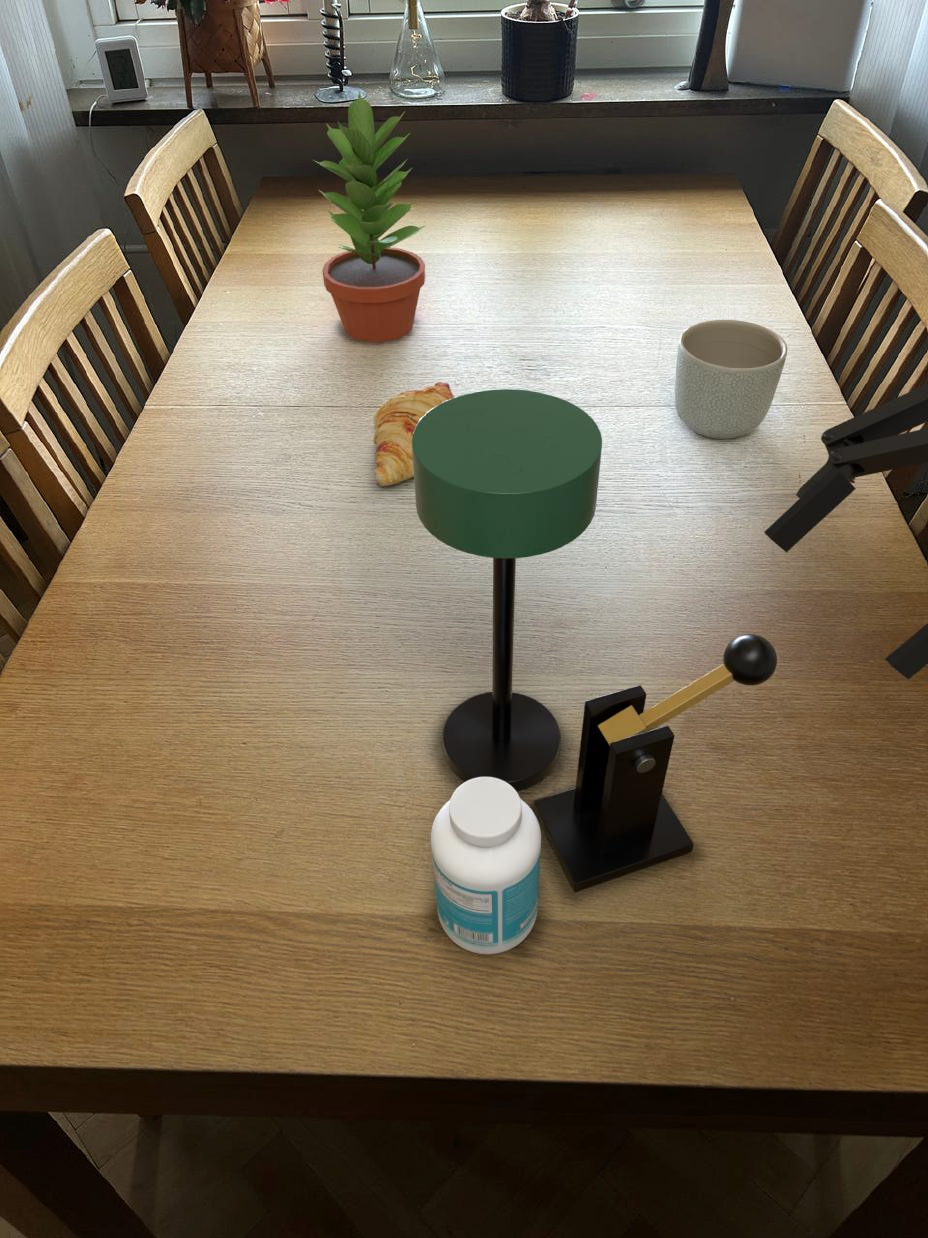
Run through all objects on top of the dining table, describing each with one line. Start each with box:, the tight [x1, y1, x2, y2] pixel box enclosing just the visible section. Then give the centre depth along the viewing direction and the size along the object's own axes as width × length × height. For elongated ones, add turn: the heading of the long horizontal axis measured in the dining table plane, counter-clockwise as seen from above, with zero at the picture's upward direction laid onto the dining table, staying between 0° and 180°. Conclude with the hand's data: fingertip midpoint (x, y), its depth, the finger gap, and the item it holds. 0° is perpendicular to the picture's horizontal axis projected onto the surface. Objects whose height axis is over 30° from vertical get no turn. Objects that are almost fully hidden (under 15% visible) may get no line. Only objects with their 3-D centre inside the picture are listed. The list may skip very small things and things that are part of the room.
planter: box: [674, 319, 788, 440], centre depth 113 cm, size 12×12×11 cm
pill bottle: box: [430, 777, 542, 955], centre depth 64 cm, size 8×7×14 cm
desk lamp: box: [412, 388, 603, 793], centre depth 69 cm, size 12×12×31 cm
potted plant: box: [312, 91, 427, 343], centre depth 126 cm, size 15×15×30 cm
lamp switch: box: [598, 633, 778, 745], centre depth 65 cm, size 13×4×4 cm, turn 110°
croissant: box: [373, 381, 455, 487], centre depth 112 cm, size 21×10×8 cm, turn 162°
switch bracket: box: [532, 684, 695, 893], centre depth 69 cm, size 10×8×14 cm
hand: (830, 601), depth 63 cm, fingers open, 13 cm apart
